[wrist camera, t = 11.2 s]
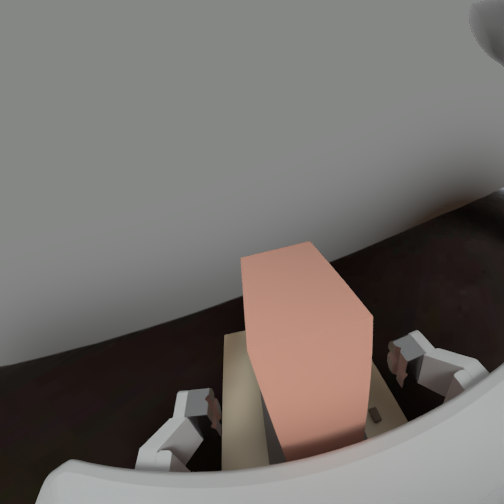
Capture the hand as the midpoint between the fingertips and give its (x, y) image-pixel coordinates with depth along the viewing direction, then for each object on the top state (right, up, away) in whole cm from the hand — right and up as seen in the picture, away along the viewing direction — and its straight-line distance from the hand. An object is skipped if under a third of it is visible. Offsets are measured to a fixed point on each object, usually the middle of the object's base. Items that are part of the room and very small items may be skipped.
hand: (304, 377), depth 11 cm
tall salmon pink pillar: (+2, -6, +2) cm, 7 cm away
